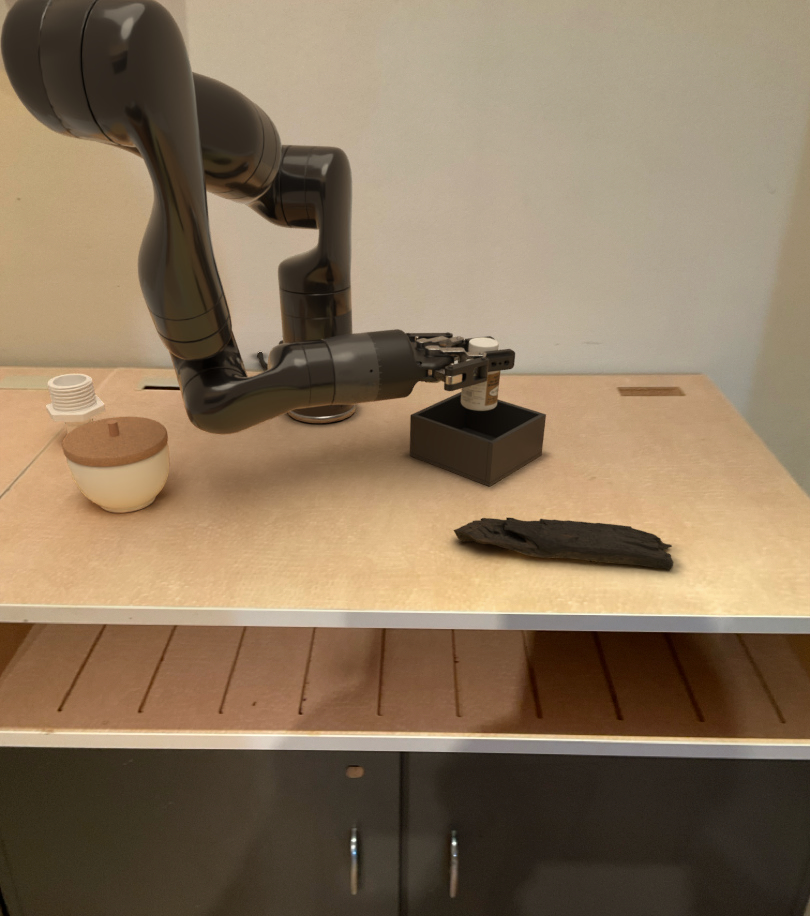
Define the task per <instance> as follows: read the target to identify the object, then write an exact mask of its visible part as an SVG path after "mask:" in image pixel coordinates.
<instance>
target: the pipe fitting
mask: <svg viewBox="0 0 810 916" xmlns="http://www.w3.org/2000/svg"><path fill="white" fill-rule="evenodd" d="M46 385H47V389H48V393H49V396H50V400H51V401H50V403H48V404H46V405H45V408H46V413H47V414H48V416H49V417H50V419H51V420H52V422H54V423H64V424H65V427H66V430H67V431H66V433H67V434H68V433H69V432H71V431H72V430H74V429H76V428H77V427H80V426H82V425H84V424H87V423H90V422H93V421H94V419H93V418H95V417H97V416H99V415H102V414H103V413H106V412H107V410H106V405H105V403H104V401H102V399H101V398H100V397H99V396H98V395H96V391H95V390H96V389H95V386H94V381H93V378H92V377H91V376H89V375H87V374H85V373H65V374H60V375H56V376H54V377H52V378H50V379H48V381H47V383H46ZM67 434H66V435H67Z"/></svg>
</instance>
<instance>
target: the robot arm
mask: <svg viewBox="0 0 810 916" xmlns="http://www.w3.org/2000/svg"><path fill="white" fill-rule="evenodd" d="M0 55H1V59H2V64H3V67H4V70H5V74H6V76H7V79H8V81H9V84H10V85H11V88H12V89H13V91H14V92H15V94H16V96H17V97H18V99H19V101H20V102H21V104H22V105H23V106H24V108H25V109H26V110H27V111H28V112H29V114H30V115H31V116H32V117H33V118H34V119H35V120H36V121H38V122H39V123H40V124H42V125H43V126H44V127H46V128H47V129H48V130H50V131H52V132H54V133H57V134H58V135H62V136H63V137H69V138H73V139H77V140H84V141H90V142H96V143H100V144H103V145H108V146H111V147H114V148H118V149H119V150H123V151H126V152H128V153H131V154H133V155H134V156H137V157H139V158H141V159H142V160H143V162H144V164H145V167H146V170H147V172H148V175H149V178H150V181H151V184H152V191H153V202H152V207H151V211H150V214H149V217H148V221H147V225H146V226H145V229H144V233H143V236H142V238H141V239H142V240H141V242H140V246H139V250H138V254H137V255H138V256H137V278H138V283H139V288H140V291H141V294H142V297H143V300H144V302H145V305H146V308H147V310H148V312H149V315H150V317H151V320H152V323H153V325H154V328H155V331H156V333H157V334H158V337H159V339H160V341H161V342H162V344H163V346H164V347H165V348H166V349H167V351H168V354H169V357H170V359H171V363H172V366H173V370H174V372H175V376H176V379H177V384H178V387H179V390H180V395H181V399H182V402H183V407H184V410H185V413H186V416H187V418H188V420H189V422H190V423H191V424H192V425H193V426H194V427H195V428H196V429H198V430H200V431H201V432H205V433H207V434H213V435H221V436H222V435H232V434H237V433H241V432H243V431H246V430H248V429H252V428H253V427H256V426H259V425H260V424H263V423H265V422H267V421H271V420H273V419H275V418H278V417H280V416H282V415H285V414H288V415H289V416H290V417H291V418H293V419H294V420H297V421H299V422H304V423H309V424H329V423H335V422H339V421H342V420H346V419H348V418H350V417H351V416H352V415H353V414H355V412H356V405H358V404H366V403H373V402H380V401H381V402H383V401H390V400H397V399H405V398H407V397H409V396H410V395H411V394H412V393H413V390H414V387H415V386H416V385H417V384H418V383H419V382H421V383H423V382H424V383H427V384H438V383H440V382H442V383H443V390H444V391H446V392H454V391H457V390H462V388H465V387H468V386H472V385H476V384H479V383H483V382H486V381H487V376H488V372H493V371H500V372H501V371H509V370H512V369H513V368H514V367H515V362H516V351H515V350H513V349H512V348H504V349H498V350H494V351H485V352H469V351H468V348H469V341H470V340H471V339H473V338H474V337H470V338H465V337H463V336H460V335H459V336H458V335H457V336H454V334H453V333H452V332H448V331H447V332H405V331H404V330H402V329H398V328H395V329H394V328H393V329H387V330H386V329H385V330H374V331H366V332H356V333H355V332H354V333H353V307H352V305H353V304H352V302H353V301H352V255H353V254H352V250H353V248H352V224H353V223H352V222H353V221H352V220H353V218H352V217H353V173H352V168H351V167H352V166H351V163H350V160H349V157H348V155H347V153H346V151H345V150H344V149H342V148H340V147H337V146H329V145H305V144H304V145H301V144H282V139H281V136H280V133H279V130H278V129H277V126H276V124H275V123H274V121H273V120H272V117H270V115H268V113H266V111H265V110H264V109H263V108H262V107H260V106H259V105H258V104H257V103H255V102H254V101H253V100H252V99H250V98H249V97H247V96H246V94H243V93H242V92H241V91H239V90H238V89H236V88H234V87H232V86H231V85H229V84H227V83H225V82H223V81H221V80H218V79H216V78H213V77H210V76H206V75H203V74H201V73H198V72H195V71H193V70H192V65H191V61H190V57H189V53H188V49H187V46H186V42H185V39H184V36H183V33H182V31H181V28H180V26H179V25H178V23H177V21H176V19H175V18H174V17H173V15H172V14H171V12H170V11H169V10H168V8H167V7H166V6H164V5H163V4H162V3H160V2H159V1H157V0H16V1H14V3H13V4H12V5H11V7H10V8H9V10H8V11H7V12H6V15H5V17H4V20H3V23H2V27H1V32H0ZM208 193H210V194H211V195H214V196H217V197H220V198H222V199H225V200H229V201H232V202H233V203H237V204H241V205H245V206H246V207H248V208H250V209H251V210H252V211H253V212H255V213H256V214H258V215H259V216H260V217H261V218H263V219H264V220H265V221H267V222H269V224H271V225H273V226H277V227H279V228H280V227H281V228H286V229H295V230H296V229H297V230H298V229H299V230H312V231H313V230H314V231H318V238H317V243H316V245H314V247H312V248H311V249H308V250H307V251H304V252H301V253H297V254H294V255H292V256H289V257H287V258H285V259H283V260H282V261H280V262H279V264H278V266H277V283H278V293H279V306H280V307H279V308H280V319H281V332H282V339H281V340H280V341H279V342H278V344H277V345H275V346H273V347H272V348H271V350H270V351H269V353H268V357H267V362H266V361H265V358H264V353H262V352H263V351H262V352H259V351H258V352H259V353H258V352H257V354H256V358H258V361H259V364H260V366H261V367H263V368H264V369H265V371H263V372H260V373H258V374H255V375H252V376H249V375H248V373H247V370H246V367H245V364H244V361H243V358H242V354H241V352H240V349H239V346H238V343H237V340H236V336H235V334H234V331H233V324H232V315H231V311H230V307H229V303H228V300H227V297H226V292H225V289H224V286H223V281H222V278H221V275H220V272H219V268H218V264H217V259H216V256H215V250H214V245H213V239H212V232H211V226H210V225H211V224H210V217H209V205H208ZM476 338H491V339H494V340H496V339H495V338H494V337H492V336H491V335H488V336H487V335H486V336H480V337H479V336H477V337H476ZM468 359H473V360H469V361H466V360H468ZM455 362H457V363H455Z"/></svg>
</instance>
